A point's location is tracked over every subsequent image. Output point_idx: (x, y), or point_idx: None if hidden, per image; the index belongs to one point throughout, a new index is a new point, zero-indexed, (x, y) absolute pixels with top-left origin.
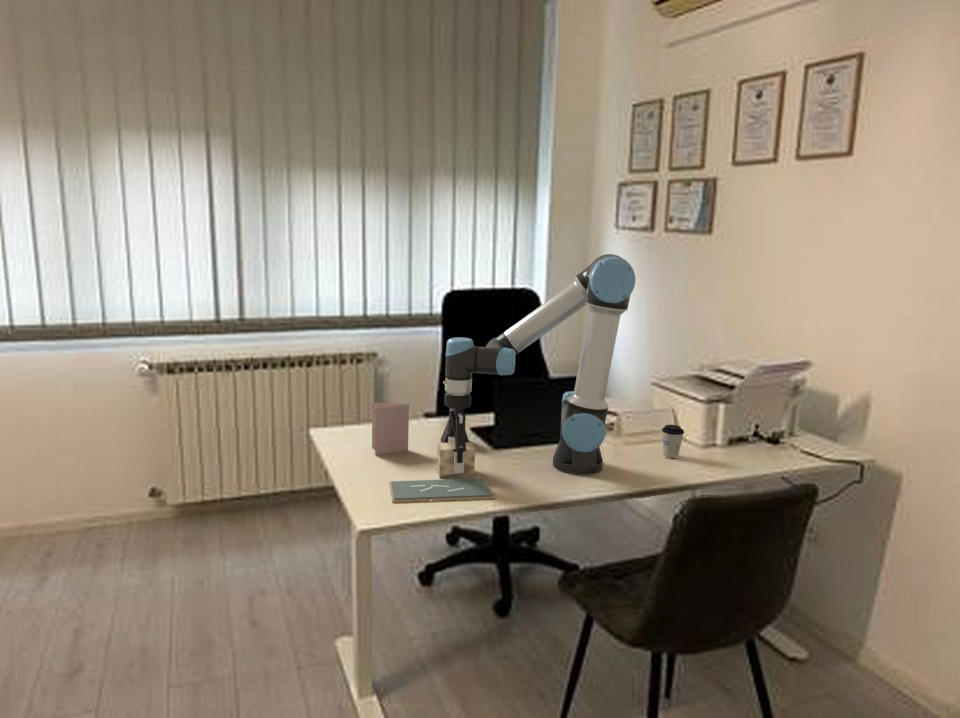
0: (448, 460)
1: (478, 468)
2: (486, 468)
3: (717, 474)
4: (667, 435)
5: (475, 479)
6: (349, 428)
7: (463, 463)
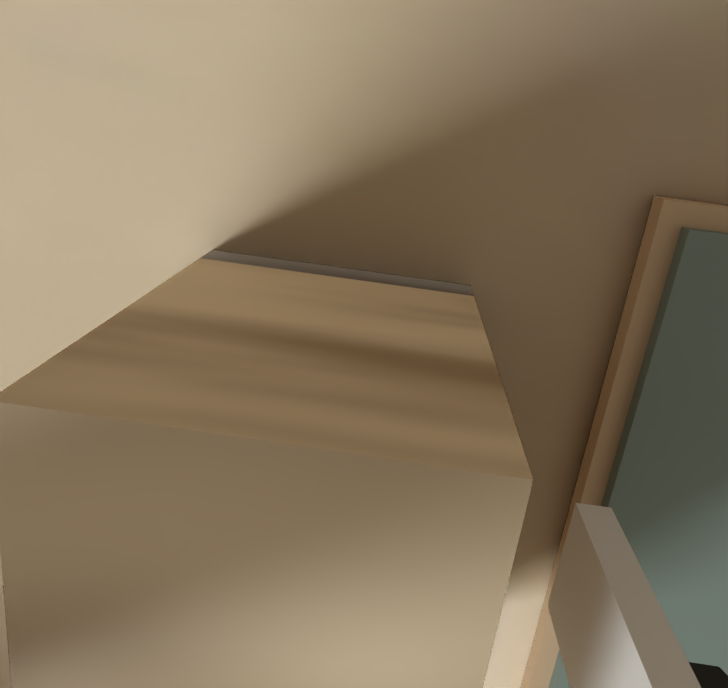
0: None
1: (189, 134)
2: (202, 14)
3: None
4: None
5: (689, 348)
6: None
7: (658, 611)
